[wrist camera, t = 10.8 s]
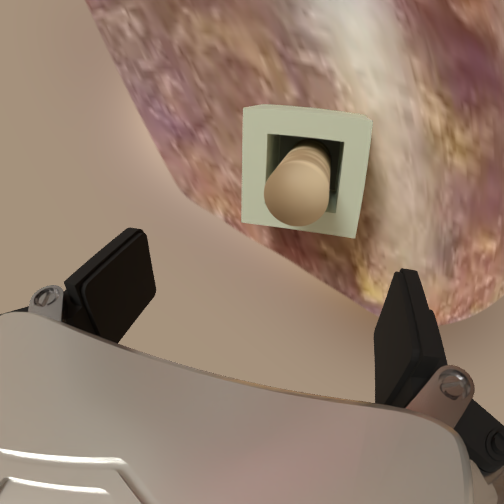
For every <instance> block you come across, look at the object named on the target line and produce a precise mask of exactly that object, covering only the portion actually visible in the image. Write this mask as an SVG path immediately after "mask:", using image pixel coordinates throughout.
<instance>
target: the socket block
mask: <svg viewBox="0 0 504 504" xmlns="http://www.w3.org/2000/svg"><path fill="white" fill-rule="evenodd" d="M372 125H373V121H372V120H371V119H369V118H368V117H366V116H365V115H362V114H355V113H349V112H342V111H334V110H326V109H318V108H308V107H297V106H284V105H269V104H261V105H256V106H250V107H245V108H243V143H242V214H241V222H243V223H250V224H258V225H265V226H273V227H280V228H287V229H294V230H301V231H308V232H315V233H322V234H329V235H335V236H342V237H348V238H355V236H356V231H357V226H358V221H359V215H360V209H361V204H362V198H363V192H364V186H365V179H366V172H367V165H368V158H369V150H370V142H371V134H372ZM304 139H316V140H318V141H320V142H322V143H323V144H324V145H325V146H326V147H327V148H328V150H329V152H330V155H331V168H330V188H329V202H328V206H327V209H326V211H325V212H324V214H323V215H322V216H321V217H320V218H319V219H318V220H317V221H315V222H314V223H312V224H309V225H306V226H290V225H287V224H284V223H282V222H280V221H279V220H277V219H276V218H275V217H274V216H273V215H272V214H271V213H270V211H269V210H268V208H267V206H266V204H265V200H264V187H265V184H266V182H267V180H268V178H269V176H270V175H271V174H272V173H273V171H274V170H275V169H276V168H277V166H278V165H279V164H280V163H281V161H282V160H283V159H284V158H285V157H286V155H287V154H288V153H289V152H290V150H291V149H292V148H293V147H294V145H295V144H296V143H298V142H299V141H301V140H304Z"/></svg>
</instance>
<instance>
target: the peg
mask: <svg viewBox="0 0 504 504" xmlns="http://www.w3.org/2000/svg"><path fill="white" fill-rule="evenodd" d="M330 168H331V155H330V152H329V150H328V148H327V147H326V146H325V145H324V144H323V143H322V142H320V141H318V140H316V139H304V140H301V141H299V142H298V143H296V144H295V145H294V147H293V148H292V149H291V150H290V152H289V153H288V154H287V155H286V157H285V158H284V159H283V160H282V161H281V163H280V164H279V165H278V166H277V168H276V169H275V170H274V171H273V173H272V174H271V175H270V176H269V178H268V180H267V182H266V184H265V187H264V200H265V204H266V206H267V208H268V210H269V211H270V213H271V214H272V215H273V216H274V217H275V218H276V219H277V220H279V221H280V222H282V223H284V224H287V225H290V226H306V225H309V224H312V223H314V222H315V221H317V220H318V219H319V218H320V217H321V216H322V215H323V214H324V212H325V211H326V209H327V206H328V202H329V188H330Z"/></svg>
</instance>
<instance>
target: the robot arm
mask: <svg viewBox="0 0 504 504" xmlns="http://www.w3.org/2000/svg"><path fill="white" fill-rule="evenodd" d="M64 284H65V286H66V290H65V291H64V292H63V290H62V288H61V287H59V286H56V285H51V286H46V287H43V288H41V289H40V290H38V291H37V292H36V293H34V295H33V296H32V298H31V300H30V304H29V306H28V307H25V308H21V309H18V310H14V311H11V312H7V313H4V314H1V315H0V504H504V426H503V425H502V424H501V423H500V422H499V421H497V420H496V419H495V418H494V417H493V416H492V415H491V414H489V413H488V412H487V411H486V410H485V409H484V408H482V407H481V406H480V405H479V404H478V403H477V402H475V401H474V400H473V399H472V398H473V395H474V383H473V380H472V378H471V377H470V375H469V374H468V373H467V372H466V371H465V370H463V369H461V368H460V367H457V366H453V365H447V360H446V356H445V352H444V348H443V344H442V340H441V336H440V333H439V329H438V325H437V322H436V318H435V315H434V312H433V311H432V310H429V307H428V304H427V300H426V297H425V294H424V291H423V288H422V284H421V281H420V278H419V275H418V272H417V271H416V270H409V269H403V268H402V269H401V270H400V272H395V273H394V276H393V279H392V282H391V285H390V288H389V291H388V294H387V297H386V300H385V303H384V306H383V309H382V311H381V314H380V317H379V320H378V322H377V325H376V328H375V332H374V354H375V403H370V402H363V401H355V400H347V399H340V398H334V397H327V396H321V395H315V394H308V393H303V392H297V391H292V390H286V389H281V388H276V387H271V386H266V385H261V384H256V383H252V382H247V381H243V380H239V379H234V378H230V377H226V376H222V375H218V374H214V373H210V372H207V371H203V370H199V369H195V368H192V367H188V366H185V365H182V364H178V363H175V362H172V361H168V360H165V359H162V358H159V357H156V356H152V355H149V354H146V353H143V352H140V351H137V350H134V349H131V348H129V347H126V346H123V345H120V344H118V342H119V341H120V340H121V338H122V337H123V336H124V335H125V333H126V332H127V330H128V329H129V328H130V327H131V325H132V324H133V323H134V322H135V320H136V319H137V318H138V316H139V315H140V314H141V313H142V311H143V310H144V308H145V307H146V306H147V305H148V304H149V302H150V301H151V300H152V299H153V297H154V296H155V293H156V286H155V280H154V275H153V270H152V264H151V258H150V253H149V246H148V240H147V235H146V234H145V233H144V232H143V230H141V229H136V228H127V229H126V230H125V231H123V232H122V233H121V234H120V235H119V236H117V237H116V238H115V239H113V240H112V241H111V242H110V243H109V244H107V245H106V246H105V247H104V248H103V249H101V250H100V251H99V252H98V253H97V254H95V255H94V256H93V257H92V258H91V259H90V260H88V261H87V262H86V263H85V264H84V265H82V266H81V267H80V268H79V269H78V270H77V271H76V272H75V273H73V274H72V275H71V276H70V277H69V278H68V279H67V280H66V281H64Z"/></svg>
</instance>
